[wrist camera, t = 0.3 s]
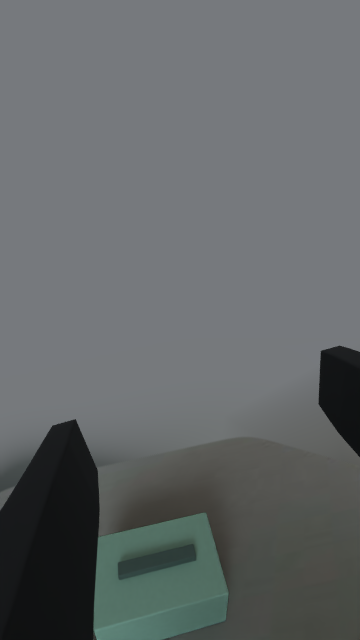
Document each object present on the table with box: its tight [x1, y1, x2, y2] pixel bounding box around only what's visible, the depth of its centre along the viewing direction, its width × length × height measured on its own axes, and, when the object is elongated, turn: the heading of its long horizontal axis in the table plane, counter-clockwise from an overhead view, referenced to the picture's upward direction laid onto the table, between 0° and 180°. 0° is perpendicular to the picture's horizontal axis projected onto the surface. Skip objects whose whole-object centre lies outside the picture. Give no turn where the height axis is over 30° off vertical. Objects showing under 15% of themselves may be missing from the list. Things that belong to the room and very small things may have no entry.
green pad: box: [94, 512, 229, 640], centre depth 21 cm, size 5×8×4 cm, turn 102°
